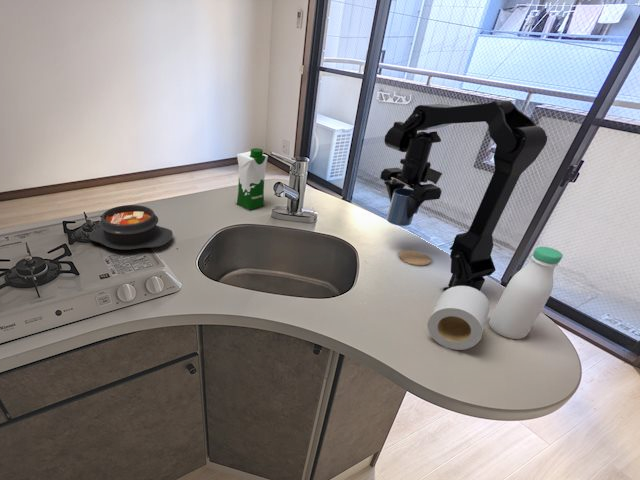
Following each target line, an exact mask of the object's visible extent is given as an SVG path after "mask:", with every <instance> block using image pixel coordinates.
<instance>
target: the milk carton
mask: <svg viewBox="0 0 640 480" xmlns="http://www.w3.org/2000/svg"><path fill="white" fill-rule="evenodd" d="M236 159H237V164H238V189H237V197H236V199H237V200H236V204H237V205H238V206H240V207H242V208H244V209H246V210H248V211H252V210H254V209H258V208H260V207H265V205H264V204H265V203H264V201H265V195H264V193H265V192H264V191H265V178H266V166H267V162H268V159H269V155H267V154H264V149H262V148H258V147H257V148H251V149H250V151H245V152H241V153H237V154H236Z"/></svg>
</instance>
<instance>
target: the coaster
mask: <svg viewBox="0 0 640 480" xmlns="http://www.w3.org/2000/svg"><path fill="white" fill-rule="evenodd" d="M398 256H399V259H400V260H401V261H402V262H404V263H406V264H408V265H411V266H415V267H417V266H418V267H425V266H428V265H430V263H431V259H432V258H431V257H430V256H429V255H428V254H426V253H424V252H421V251H418V250H413V249H406V250H402V251H400V252H399V255H398Z"/></svg>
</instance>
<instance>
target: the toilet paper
mask: <svg viewBox="0 0 640 480" xmlns="http://www.w3.org/2000/svg"><path fill="white" fill-rule="evenodd" d="M490 309H491V306H490V302H489V299H488V298H487V296H486V295H485V294H484V293H483V292H482V291H481V290H480V291H479V290H477V289H475V288H472V287H469V286H455V287H451V288H449V289H447V290H446V291H444V290H443V292H442V294H441V295H440V297H439V298H438V301H437V302H436V304H435V306H434V308H433V310H432V313H431V314H430V317H429V319H428V321H427V330H428V333H429V335H430V337H431V338H432V339H433V340H434V341H435V342H436V343H437V344H439V345H440V346H442V347H444V348H447V349H451V350H458V351H460V350H461V351H463V350H468V349H471V348H472V347H474V346H476V345H477V344H478V343H479V342H480V341H481V339H482V336H483V333H484V330H485V327H486V323H487V320H488V317H489V313H490Z"/></svg>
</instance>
